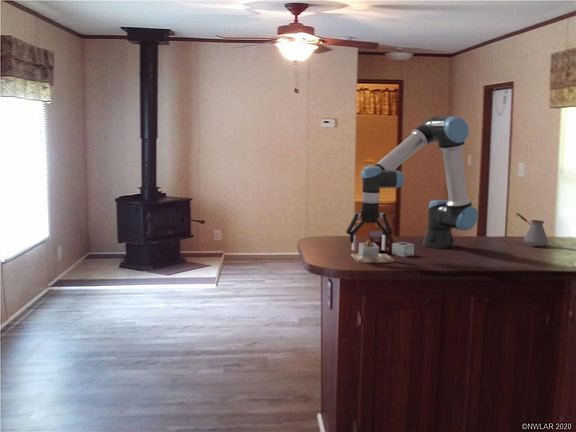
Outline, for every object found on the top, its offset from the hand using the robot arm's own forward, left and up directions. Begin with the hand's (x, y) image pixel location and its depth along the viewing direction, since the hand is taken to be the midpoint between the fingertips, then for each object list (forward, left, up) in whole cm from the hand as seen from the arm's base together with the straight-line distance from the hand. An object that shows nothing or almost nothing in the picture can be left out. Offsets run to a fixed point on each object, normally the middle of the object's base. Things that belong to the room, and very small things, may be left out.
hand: (368, 249), depth 262 cm
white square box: (0, 0, -3) cm, 3 cm away
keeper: (-2, 0, -4) cm, 5 cm away
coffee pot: (-96, -34, -4) cm, 102 cm away
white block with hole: (-19, -9, -4) cm, 22 cm away
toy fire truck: (-11, -17, -4) cm, 20 cm away
